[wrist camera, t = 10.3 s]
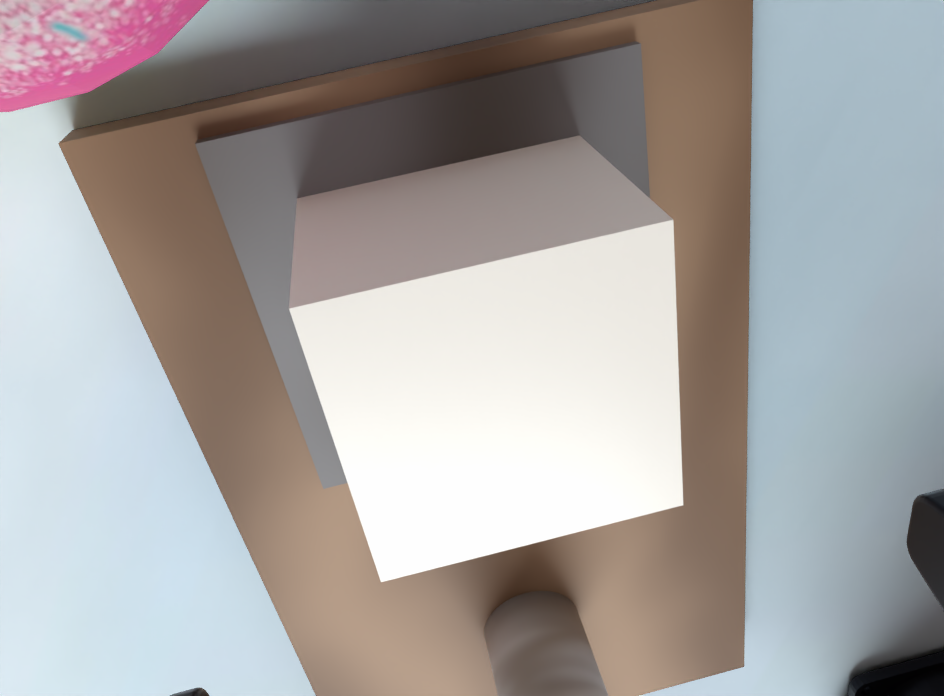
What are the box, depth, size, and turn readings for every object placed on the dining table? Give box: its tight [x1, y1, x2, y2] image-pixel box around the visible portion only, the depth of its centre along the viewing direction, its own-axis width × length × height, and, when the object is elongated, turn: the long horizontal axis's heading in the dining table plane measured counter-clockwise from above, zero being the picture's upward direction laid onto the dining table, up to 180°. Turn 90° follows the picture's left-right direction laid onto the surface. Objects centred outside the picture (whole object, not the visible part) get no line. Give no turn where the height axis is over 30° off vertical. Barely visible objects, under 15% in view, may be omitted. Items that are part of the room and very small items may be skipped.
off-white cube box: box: [289, 135, 683, 582], centre depth 15 cm, size 6×6×5 cm
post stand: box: [58, 0, 753, 696], centre depth 20 cm, size 14×22×4 cm, turn 10°
